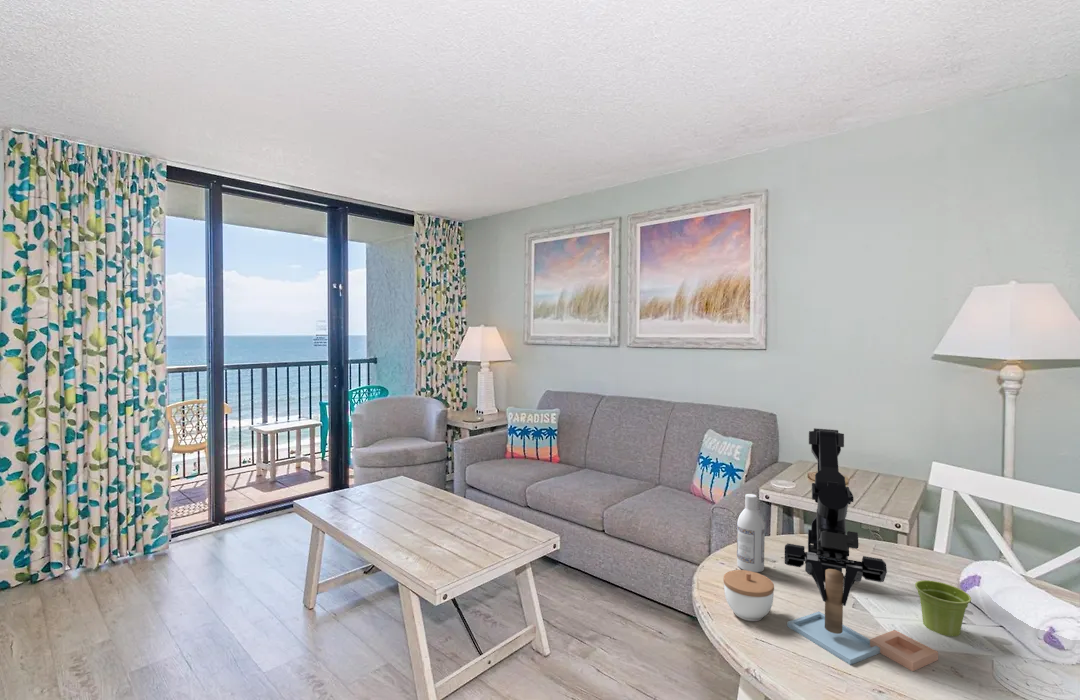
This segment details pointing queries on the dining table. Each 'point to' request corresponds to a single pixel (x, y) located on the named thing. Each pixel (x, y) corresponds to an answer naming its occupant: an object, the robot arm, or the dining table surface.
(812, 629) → the tray
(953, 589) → the plant pot
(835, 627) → the peg
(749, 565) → the bath foam
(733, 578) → the lidded jar
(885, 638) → the holder
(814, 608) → the dining table surface
